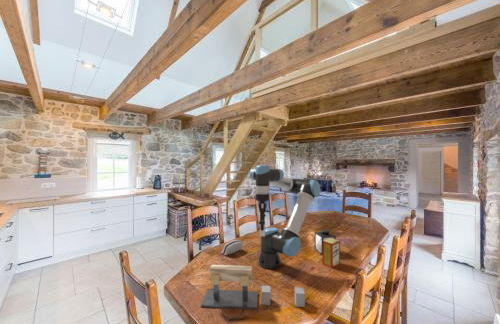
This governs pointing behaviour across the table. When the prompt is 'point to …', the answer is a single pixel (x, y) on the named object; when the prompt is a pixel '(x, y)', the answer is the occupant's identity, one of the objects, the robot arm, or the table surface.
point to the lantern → (322, 238)
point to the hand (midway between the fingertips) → (262, 232)
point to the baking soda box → (331, 252)
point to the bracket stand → (230, 295)
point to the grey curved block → (232, 247)
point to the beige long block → (231, 272)
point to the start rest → (298, 296)
